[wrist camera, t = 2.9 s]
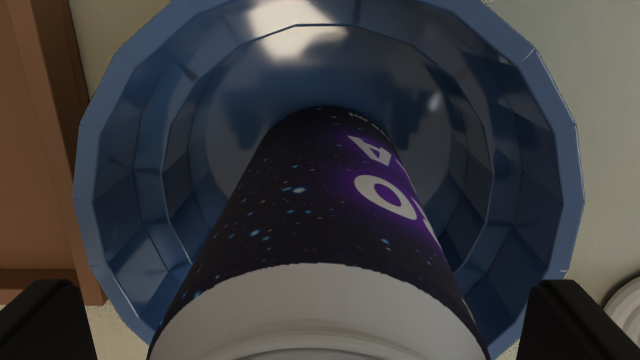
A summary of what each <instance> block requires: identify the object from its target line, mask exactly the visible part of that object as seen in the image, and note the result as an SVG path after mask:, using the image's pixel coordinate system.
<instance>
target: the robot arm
mask: <svg viewBox="0 0 640 360" xmlns="http://www.w3.org/2000/svg"><path fill="white" fill-rule="evenodd" d="M0 360H98V359H97V355H96V351H95V347H94V343H93V339H92V335H91V331H90V326H89V322H88V318H87V314H86V310H85V306H84V302H83V298H82V294H81V291H80V289H79V288H78V287H77V286H73V283H72V282H71V281H70V280H68V279H37V280H35V281H34V282H32V283H31V284H30V285H29V286H28V287H27V288H25V289H24V290H23V291H22V292H21V293H20V294H19V295H18V296H16V297H15V298H14V299H13V300H12V301H11V302H10V303H9V304H7V305H6V306H5V307H4V308H3V309H2V310H1V311H0ZM516 360H640V348H639V347H638V346H637V345H636V344H635V343H634V342H633V341H632V340H631V339H630V338H629V337H628V335H627V334H626V333H625V332H624V331H623V330H622V329H621V328H620V327H619V326H618V325H617V324H616V323H615V322H614V321H613V320H612V319H611V318H610V317H609V316H608V315H607V314H606V312H605V311H604V310H603V309H602V308H601V307H600V306H599V305H598V304H597V303H596V302H595V301H594V300H593V299H592V298H591V297H590V296H589V295H588V294H587V293H586V292H585V291H584V290H583V288H582V287H581V286H580V285H579V284H578V283H577V282H575V281H574V280H570V279H544V280H541V281H540V282H539V284H538V286H537V287H532V288H531V290H530V293H529V297H528V302H527V307H526V312H525V317H524V322H523V327H522V332H521V337H520V342H519V347H518V352H517V357H516Z"/></svg>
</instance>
